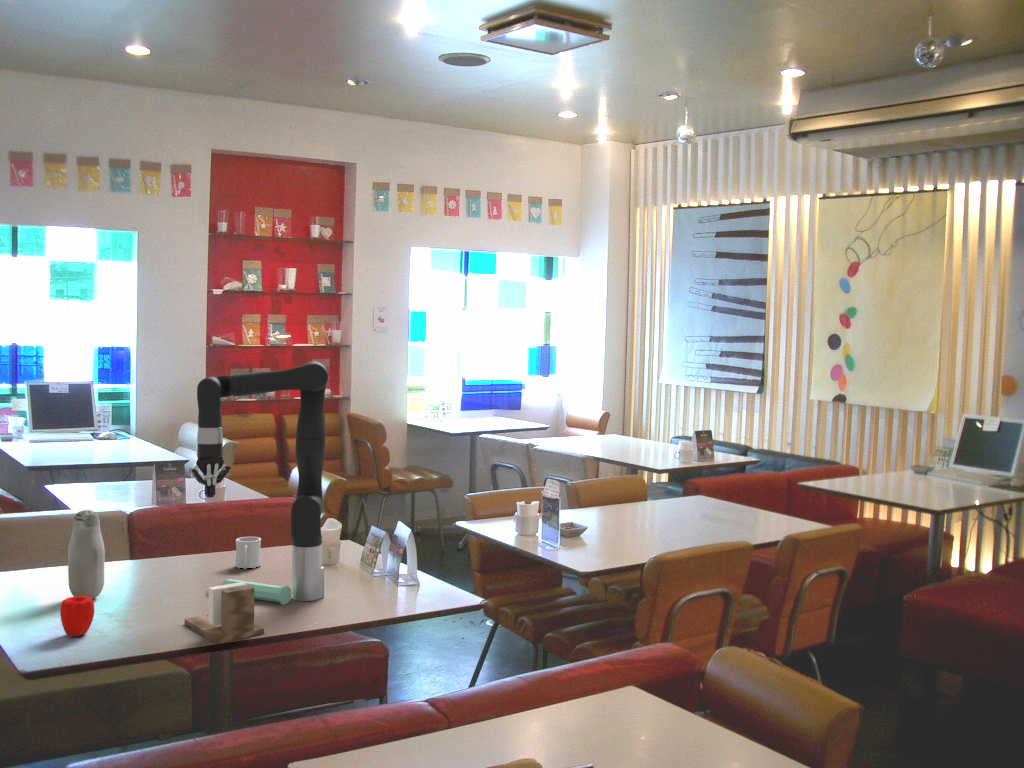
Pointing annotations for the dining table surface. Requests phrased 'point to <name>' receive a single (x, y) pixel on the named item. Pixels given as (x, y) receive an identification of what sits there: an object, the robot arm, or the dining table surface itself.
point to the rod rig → (230, 617)
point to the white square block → (218, 601)
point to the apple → (77, 615)
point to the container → (266, 591)
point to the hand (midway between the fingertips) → (210, 497)
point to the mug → (248, 552)
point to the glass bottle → (86, 556)
